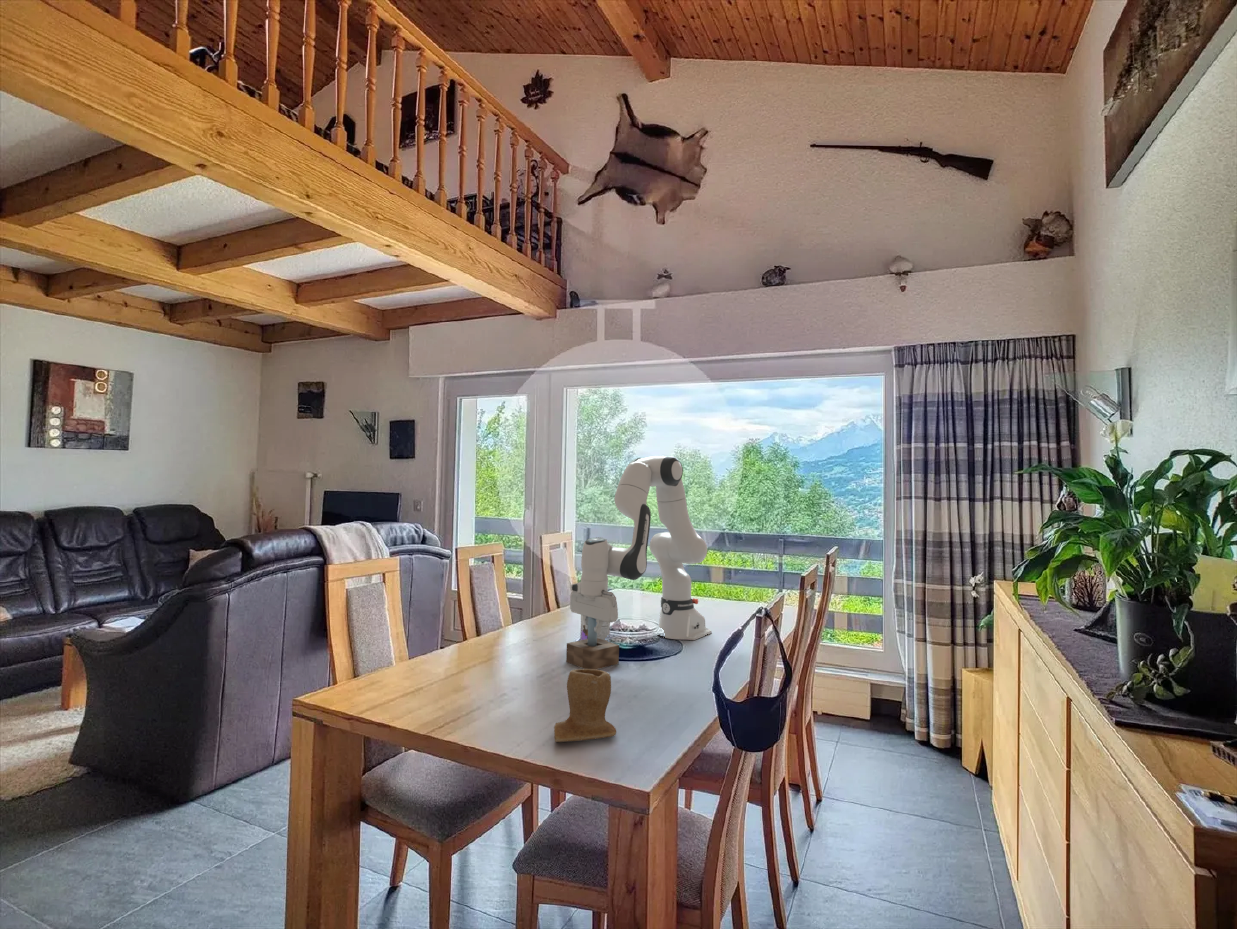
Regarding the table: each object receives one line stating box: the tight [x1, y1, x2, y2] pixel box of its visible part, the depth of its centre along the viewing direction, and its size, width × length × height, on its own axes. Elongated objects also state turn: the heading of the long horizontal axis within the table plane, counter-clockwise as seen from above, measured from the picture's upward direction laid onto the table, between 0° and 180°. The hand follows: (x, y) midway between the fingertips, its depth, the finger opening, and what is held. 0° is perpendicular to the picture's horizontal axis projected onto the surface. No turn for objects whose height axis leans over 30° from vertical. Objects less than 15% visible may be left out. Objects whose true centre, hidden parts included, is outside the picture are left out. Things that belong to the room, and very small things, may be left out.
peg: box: [588, 617, 597, 647], centre depth 201 cm, size 3×3×12 cm
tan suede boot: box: [553, 668, 617, 743], centre depth 145 cm, size 15×12×15 cm
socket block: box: [565, 638, 620, 670], centre depth 201 cm, size 12×12×6 cm
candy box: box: [579, 615, 611, 641], centre depth 218 cm, size 14×6×16 cm, turn 25°
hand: (592, 631), depth 201 cm, fingers closed on peg, 3 cm apart
